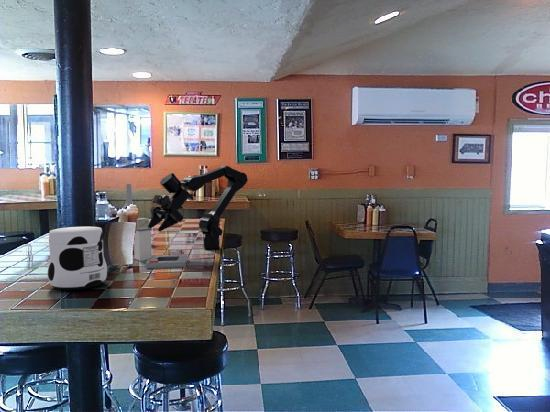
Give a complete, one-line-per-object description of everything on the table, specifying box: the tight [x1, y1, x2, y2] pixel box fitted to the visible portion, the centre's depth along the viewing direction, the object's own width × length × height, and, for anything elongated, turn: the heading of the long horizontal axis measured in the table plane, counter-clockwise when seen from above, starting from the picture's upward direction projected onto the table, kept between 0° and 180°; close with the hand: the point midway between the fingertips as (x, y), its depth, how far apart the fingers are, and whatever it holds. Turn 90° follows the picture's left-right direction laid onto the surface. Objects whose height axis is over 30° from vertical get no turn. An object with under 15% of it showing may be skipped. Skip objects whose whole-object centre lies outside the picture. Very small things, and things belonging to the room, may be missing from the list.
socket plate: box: [145, 254, 189, 270], centre depth 185 cm, size 14×14×2 cm
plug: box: [133, 227, 153, 262], centre depth 194 cm, size 5×5×12 cm
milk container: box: [47, 226, 108, 291], centre depth 152 cm, size 17×17×18 cm
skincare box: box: [137, 217, 150, 228], centre depth 230 cm, size 6×4×12 cm
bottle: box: [122, 183, 135, 210], centre depth 245 cm, size 7×7×28 cm
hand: (153, 229), depth 197 cm, fingers open, 9 cm apart
